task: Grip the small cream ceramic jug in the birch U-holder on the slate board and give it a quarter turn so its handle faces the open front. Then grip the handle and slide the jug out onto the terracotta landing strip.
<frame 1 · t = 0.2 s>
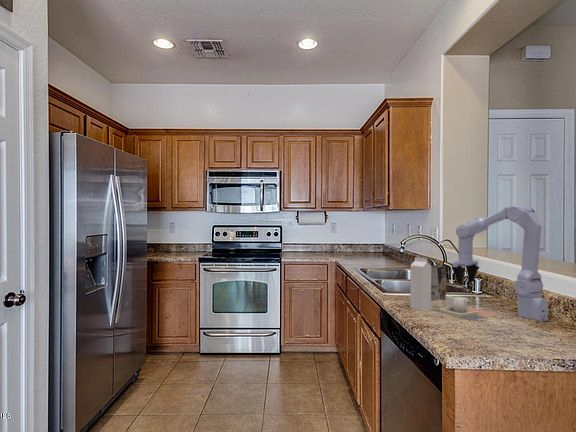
hand: (465, 282, 174), 10 cm above the worktop, tool pointing down, fingers open, 7 cm apart
milk: (420, 311, 163), on the worktop
jug: (460, 313, 155), point 1 cm above the worktop, touching jug holder
coffee box: (436, 300, 184), on the worktop
jug holder: (465, 314, 156), on the worktop
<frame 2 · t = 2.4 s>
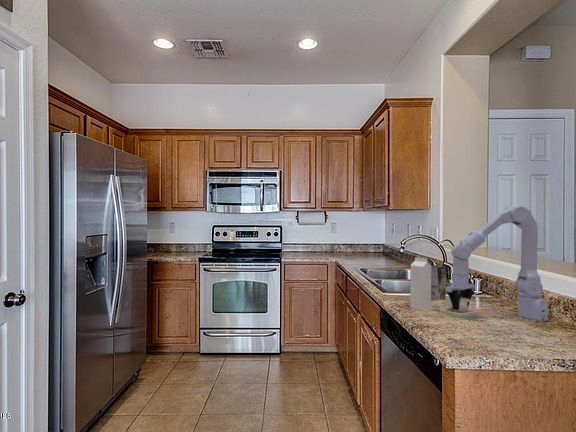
hand: (460, 308, 155), 3 cm above the worktop, tool pointing down, fingers closed on jug, 5 cm apart
jug: (460, 313, 155), point 1 cm above the worktop, touching gripper, jug holder
everything else where it was.
when the fingers open (3 cm above the worktop, at t = 5.3 s): jug stays where it is, resting on jug holder.
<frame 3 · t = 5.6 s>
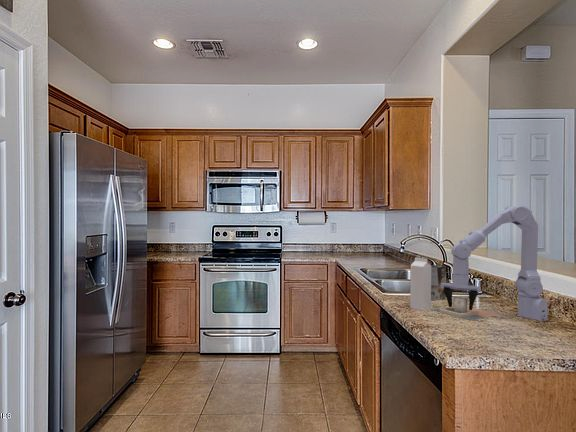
hand: (460, 308, 155), 3 cm above the worktop, tool pointing down, fingers open, 7 cm apart
jug: (460, 313, 155), point 1 cm above the worktop, touching jug holder
everything else where it was.
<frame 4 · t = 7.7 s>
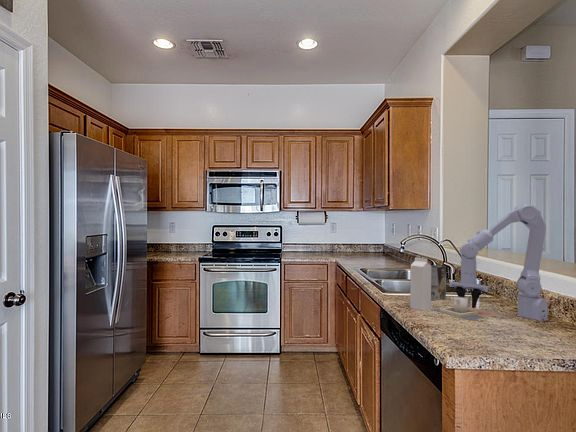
hand: (468, 306, 157), 3 cm above the worktop, tool pointing down, fingers open, 4 cm apart
jug: (460, 313, 155), point 1 cm above the worktop, touching gripper, jug holder
everything else where it was.
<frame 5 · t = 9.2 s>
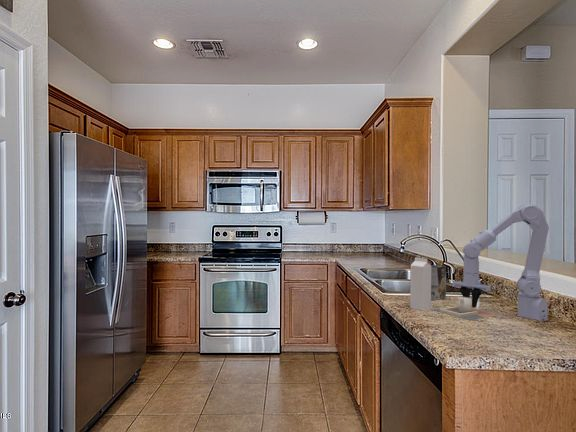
hand: (470, 306, 158), 3 cm above the worktop, tool pointing down, fingers closed on jug, 2 cm apart
jug: (464, 313, 155), point 1 cm above the worktop, touching gripper, jug holder
everything else where it was.
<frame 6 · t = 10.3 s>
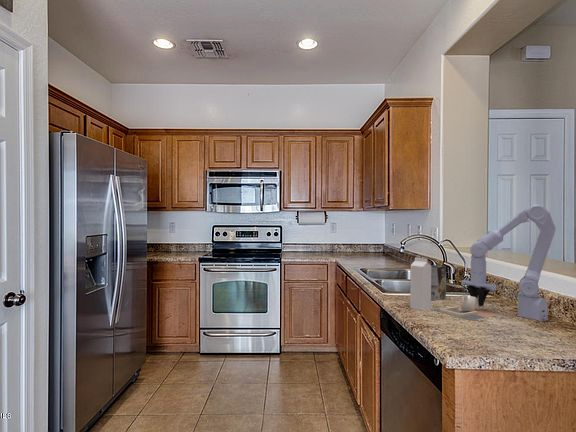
hand: (478, 305, 160), 3 cm above the worktop, tool pointing down, fingers closed on jug, 2 cm apart
jug: (467, 311, 156), point 1 cm above the worktop, tilted 11°, touching gripper, jug holder
everything else where it was.
when the fingers open (3 cm above the worktop, at t = 11.7 s): jug stays where it is, resting on jug holder.
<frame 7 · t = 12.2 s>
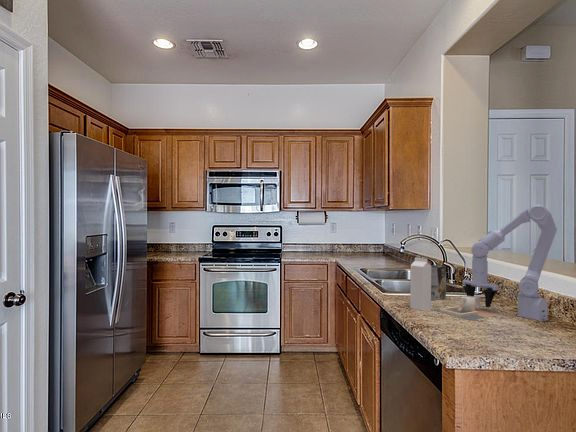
hand: (479, 305, 160), 3 cm above the worktop, tool pointing down, fingers open, 7 cm apart
jug: (468, 311, 157), point 1 cm above the worktop, touching jug holder
everything else where it was.
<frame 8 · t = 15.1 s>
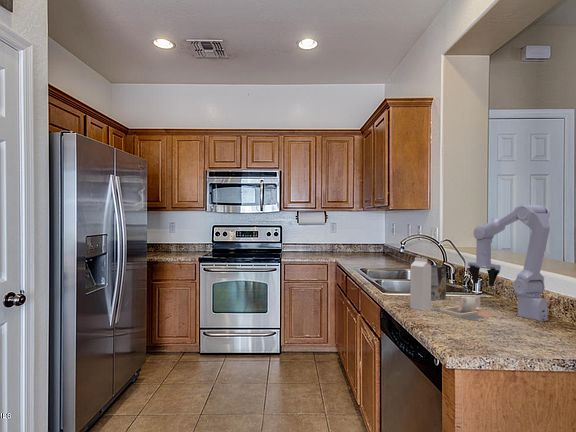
hand: (483, 284, 172), 9 cm above the worktop, tool pointing down, fingers open, 7 cm apart
nothing on the worktop moved.
at the end: jug 3.1 cm from the target spot, point 1.0 cm above the worktop; jug tilted 0°; the gripper is holding nothing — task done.
